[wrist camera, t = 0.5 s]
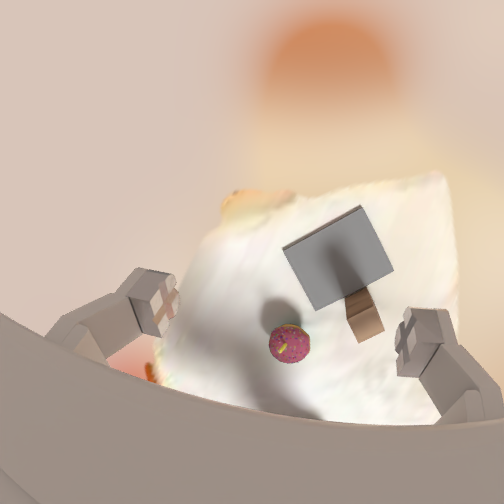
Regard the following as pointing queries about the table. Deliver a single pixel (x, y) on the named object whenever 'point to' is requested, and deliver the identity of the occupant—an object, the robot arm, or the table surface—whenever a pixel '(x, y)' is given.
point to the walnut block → (363, 315)
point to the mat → (339, 259)
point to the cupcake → (289, 343)
